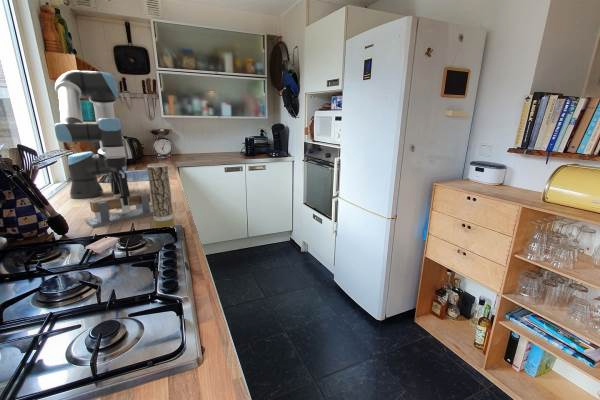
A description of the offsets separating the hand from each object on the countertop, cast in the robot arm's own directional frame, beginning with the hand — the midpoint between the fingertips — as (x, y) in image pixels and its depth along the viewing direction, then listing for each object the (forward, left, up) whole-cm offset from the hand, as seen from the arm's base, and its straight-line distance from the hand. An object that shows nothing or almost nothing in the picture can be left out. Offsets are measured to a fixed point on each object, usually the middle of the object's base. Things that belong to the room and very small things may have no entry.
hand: (123, 210), depth 131 cm
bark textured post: (+26, +6, -3) cm, 27 cm away
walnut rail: (0, 0, +2) cm, 2 cm away
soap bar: (+29, -16, -4) cm, 33 cm away
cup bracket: (0, 0, -3) cm, 3 cm away
